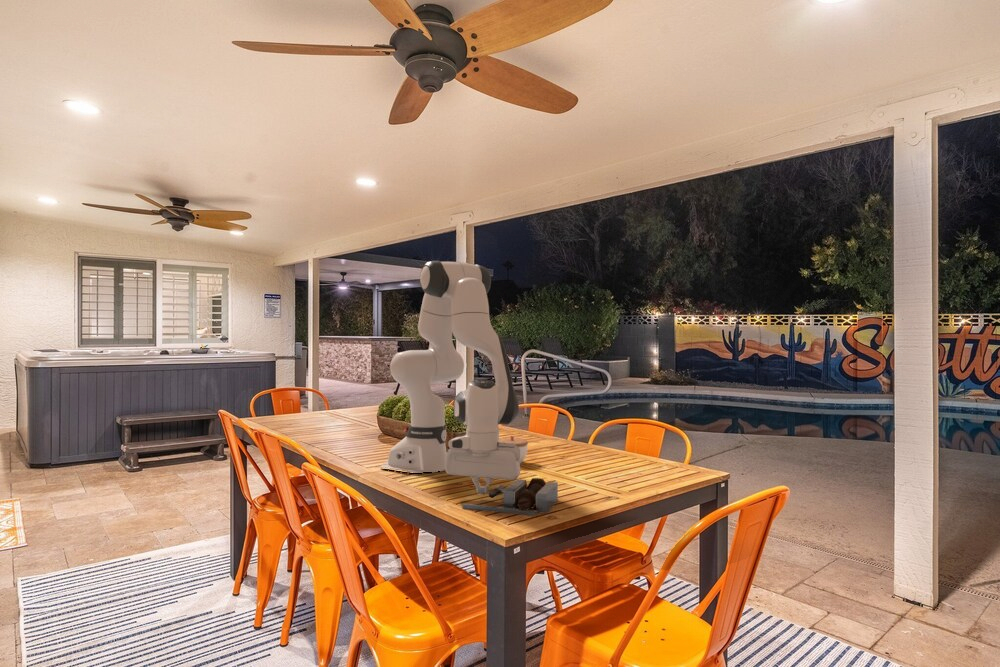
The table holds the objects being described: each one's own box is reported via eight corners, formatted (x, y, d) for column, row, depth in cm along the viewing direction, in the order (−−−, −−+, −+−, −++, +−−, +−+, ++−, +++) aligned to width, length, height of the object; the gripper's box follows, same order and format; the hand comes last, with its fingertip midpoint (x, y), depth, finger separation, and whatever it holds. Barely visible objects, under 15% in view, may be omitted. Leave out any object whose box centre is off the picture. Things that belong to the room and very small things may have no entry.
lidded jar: (494, 466, 188) (494, 438, 188) (498, 459, 198) (498, 433, 198) (526, 467, 186) (526, 439, 187) (528, 460, 197) (528, 433, 197)
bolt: (520, 519, 139) (535, 501, 153) (537, 511, 137) (551, 493, 152) (509, 498, 140) (525, 481, 154) (526, 489, 138) (540, 473, 152)
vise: (462, 508, 141) (462, 489, 141) (483, 493, 155) (483, 476, 155) (543, 516, 134) (543, 497, 135) (557, 500, 148) (557, 482, 148)
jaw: (485, 506, 142) (485, 488, 142) (500, 494, 154) (500, 477, 154) (514, 509, 140) (514, 491, 140) (527, 496, 151) (527, 479, 151)
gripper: (523, 441, 149) (523, 494, 149) (452, 437, 156) (452, 487, 155) (516, 446, 143) (516, 500, 143) (442, 441, 150) (442, 493, 149)
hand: (482, 493), depth 149 cm, fingers closed
